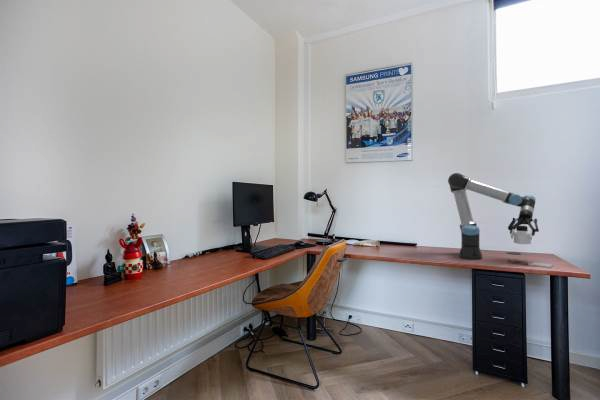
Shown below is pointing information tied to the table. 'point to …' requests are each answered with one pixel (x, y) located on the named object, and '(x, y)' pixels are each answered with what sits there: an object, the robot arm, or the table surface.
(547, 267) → the grey mat
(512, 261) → the walnut stop
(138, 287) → the table surface
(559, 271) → the table surface
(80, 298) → the table surface
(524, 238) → the medicine bottle
